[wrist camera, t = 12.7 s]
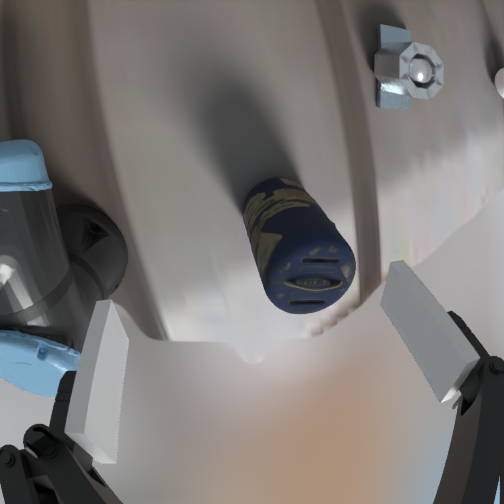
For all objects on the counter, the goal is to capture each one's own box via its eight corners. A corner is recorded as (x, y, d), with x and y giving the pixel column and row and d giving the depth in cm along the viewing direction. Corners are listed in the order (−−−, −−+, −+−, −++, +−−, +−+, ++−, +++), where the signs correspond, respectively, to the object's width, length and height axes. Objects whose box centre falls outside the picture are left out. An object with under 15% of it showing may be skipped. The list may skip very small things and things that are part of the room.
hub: (374, 89, 36) (398, 95, 31) (374, 40, 32) (399, 39, 27) (415, 94, 36) (442, 101, 31) (416, 48, 32) (443, 49, 27)
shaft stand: (376, 106, 38) (404, 116, 32) (376, 24, 31) (406, 21, 25) (405, 109, 38) (435, 119, 33) (406, 30, 32) (438, 29, 26)
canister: (257, 164, 40) (296, 230, 25) (319, 188, 43) (382, 259, 28) (230, 226, 44) (250, 317, 29) (290, 244, 48) (331, 332, 33)
